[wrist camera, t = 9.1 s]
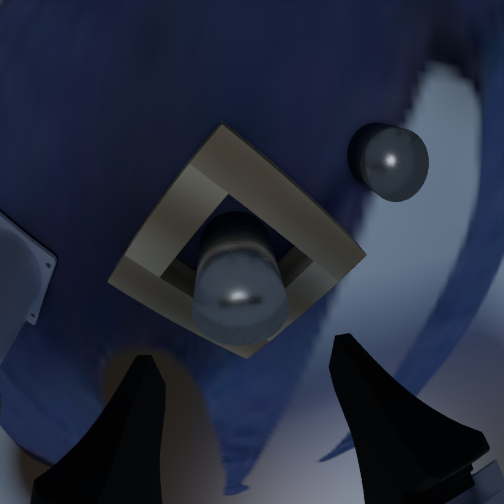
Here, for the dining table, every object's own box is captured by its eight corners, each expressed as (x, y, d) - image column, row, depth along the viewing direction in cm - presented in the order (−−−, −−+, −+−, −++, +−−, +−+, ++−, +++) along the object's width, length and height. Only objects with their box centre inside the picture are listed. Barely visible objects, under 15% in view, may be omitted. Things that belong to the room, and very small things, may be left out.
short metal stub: (373, 199, 19) (395, 216, 16) (333, 154, 17) (353, 165, 14) (413, 156, 17) (439, 167, 15) (377, 108, 15) (403, 112, 13)
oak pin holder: (244, 331, 23) (247, 358, 21) (120, 257, 19) (107, 282, 16) (349, 233, 20) (366, 254, 17) (222, 120, 15) (221, 124, 13)
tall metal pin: (239, 281, 21) (246, 356, 15) (187, 248, 19) (174, 319, 13) (282, 237, 19) (308, 304, 13) (229, 197, 18) (233, 254, 11)
